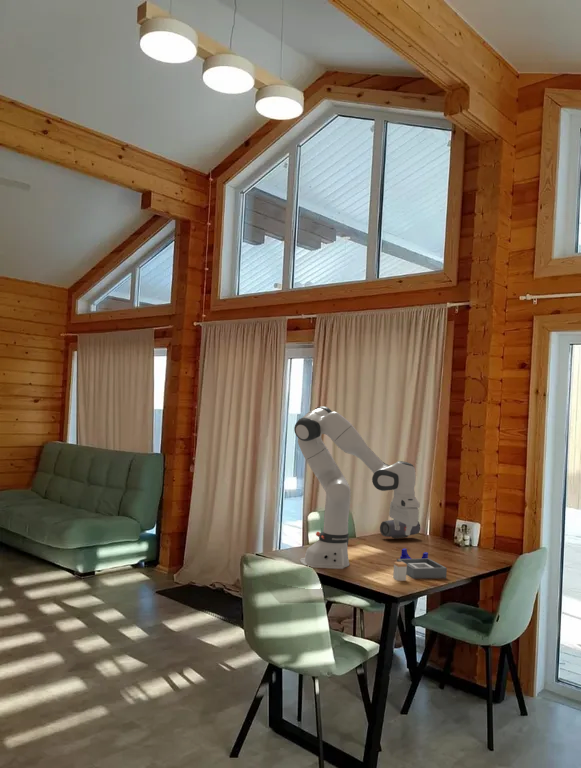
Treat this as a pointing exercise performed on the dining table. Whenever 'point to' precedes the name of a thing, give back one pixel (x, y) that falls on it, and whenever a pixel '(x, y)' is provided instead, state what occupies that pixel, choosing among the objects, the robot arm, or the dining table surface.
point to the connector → (400, 571)
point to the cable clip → (406, 556)
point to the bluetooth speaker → (389, 530)
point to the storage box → (424, 568)
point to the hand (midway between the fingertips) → (402, 532)
